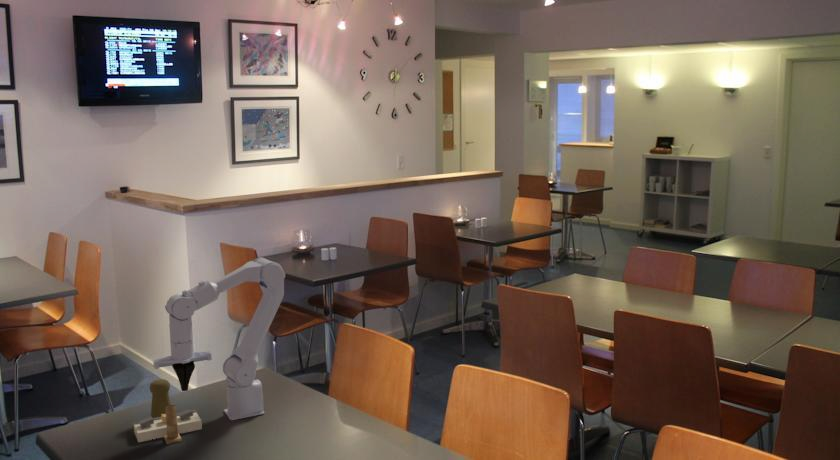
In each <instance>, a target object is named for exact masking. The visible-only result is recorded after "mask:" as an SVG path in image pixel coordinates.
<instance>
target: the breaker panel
mask: <svg viewBox="0 0 840 460" xmlns="http://www.w3.org/2000/svg"><path fill="white" fill-rule="evenodd" d="M192 412H193V416H191V417H188V418H186V419H183V420H181V419H180V417H179V413H180V412H177V427H178V433H179V435H180V434H185V433H189V432H195V431H199V430H202V429H203V425H202V424H203V423H202V418H201V417H200V416H199V414H198V412H197V410H196V409H194V410H192ZM139 421H140V420H138V421H134V422H133V432H134V433H133V434H134V435H135V438H136V441H137V443H143V442H147V441H152V439H153V440H157V439H161V438H164V436H167V424H166V422H162V420H161V417H157V418H153V421H154V424H151V425H149V426H146V427H144V428H141V426H140V423H139ZM156 438H157V439H156Z"/></svg>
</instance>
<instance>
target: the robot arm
mask: <svg viewBox="0 0 840 460" xmlns="http://www.w3.org/2000/svg"><path fill="white" fill-rule="evenodd" d="M285 278H286V273H285V271H284V268H283V267H282V266H281V264H280V263H279V262H275V261H272V260H269V259H267V258H265V257H261V256H260V257H257V258H255V259H254V260H250V261H248V262H246V263H245V264H243V265H242V266H240V267H238V268H237V269H235V270H233V271H231V272H229V273H228V274H225V276H222V277H221V278H220V279H218V280H216V281H214V282H213V281H209V280H205V281H204V280H201V281H199V282H198V285H196V286H194V287H192V288H191V289H188V290H186V289H184V290H182V291H181V294H173V295H171V296H170V297H169V299H168V300H167V301H166V305H164V309H165V311H166V313H167V314H169V315H168V319H169V324H168V325H169V339H170V355H169V356H164V357H161V358H156V359H153V360H152V361H153V362H152V363H153V368H154V369H155V370H158V369H161V368H165V367H170V366H171V367H172V369H173V370H174V372H175V374H176V376H177V379H178V382H179V385H180V389H181V391H182V392H187V391H189V386H190V385H189V384H190V381H191V377H192V375H193V372H194V370H195V368H196V365H195V363H196V362H203V361H212V360H213V359H212V352H211V351H200V352H198V351H197V352H195V351H194V349H195V348H194V333H193V332H194V331H193V322H192V321H193V320H192V319H193V318H192V317H193V315H194V314H195V312H196V311H198V310H200V309H203V308H204V307H206V306H208V305H209V304H212V303H214V302H216V301H217V300H218V299H219V296H220V294H221V293H224V292H226V291H228V290H230V289H232V288H235V287H237V286H239V285H241V284H243V283H246V282H250V283H251V282H252V283H258V285H259V287H260V289H261V292H262V297H261V299H260V301H259V303H258V305H257V308H256V309H255V311H254V314H253V316H252V318H251V320H250V322H249V324H248V327H247V329H246V331H245V333H244V335H243V338H241V339H242V340H241V341H240V344H239V345H238V346H237V347H235V348H234V349H233V350H232V352H231V354H230V356H228V357H227V358H226V359H225V360H224V362H223V364H222V373H224V375H225V376H226V377H227V379H226V383H225V384H226V397H227V398H226V399H227V400H226V401H227V408H225V409H223V412H224V413H225V415H226V416H227V417H228V419H229V420H230V421H237V420H240V419H246V418H250V417H255V416H259V415H260V416H261V415H264V414H265V409H264V392H263V386H262V382H261V381H260V379H255V378H256V376H257V367H258V365H259V358H258V356H259V355H258V353H259V352H260V349H261V346H262V344H263V342H264V340H265V338H266V335H267V334H268V332H269V329H270V326H271V325H272V323H273V320H274V319H275V316H276V314H277V312H278V309H279V308H280V306H281V303H282V301H283V298H284V296H285Z"/></svg>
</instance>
